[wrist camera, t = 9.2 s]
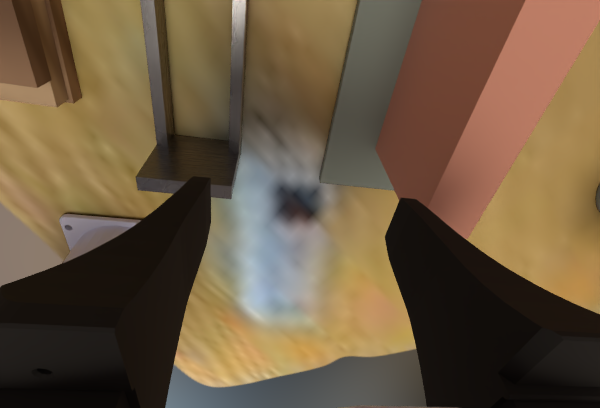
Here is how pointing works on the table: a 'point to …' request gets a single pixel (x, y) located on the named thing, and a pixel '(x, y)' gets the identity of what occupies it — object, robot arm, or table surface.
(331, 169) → the mat
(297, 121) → the table surface
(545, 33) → the salmon pink rectangular block
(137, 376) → the robot arm
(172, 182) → the rack
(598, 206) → the grey cylindrical pot
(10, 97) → the offcut stack
